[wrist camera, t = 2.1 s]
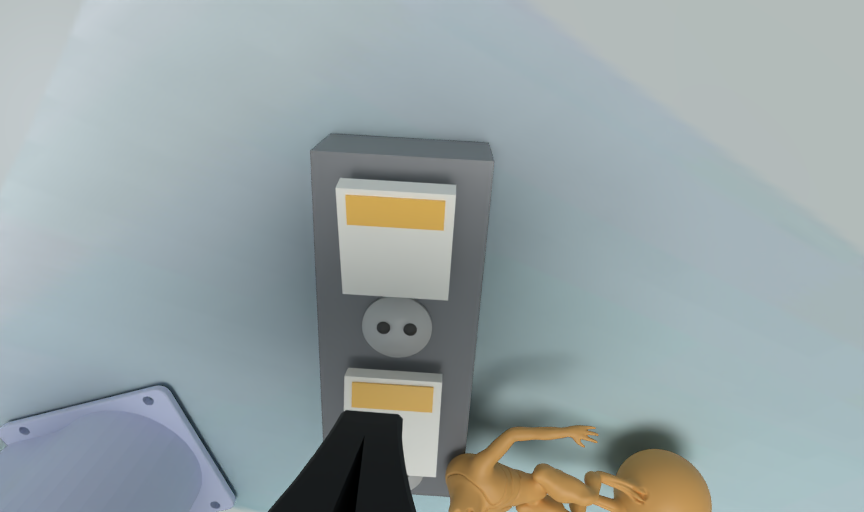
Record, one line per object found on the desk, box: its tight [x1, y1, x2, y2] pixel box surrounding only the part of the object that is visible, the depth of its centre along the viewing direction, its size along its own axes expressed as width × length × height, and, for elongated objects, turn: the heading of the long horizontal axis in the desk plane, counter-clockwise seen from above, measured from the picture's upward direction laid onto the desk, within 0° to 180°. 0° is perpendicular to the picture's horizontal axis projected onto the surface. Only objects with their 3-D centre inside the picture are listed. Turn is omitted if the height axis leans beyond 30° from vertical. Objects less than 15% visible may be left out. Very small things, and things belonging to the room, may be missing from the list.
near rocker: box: [335, 178, 456, 301], centre depth 17 cm, size 4×4×1 cm
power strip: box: [310, 134, 494, 497], centre depth 21 cm, size 15×6×3 cm, turn 177°
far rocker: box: [344, 368, 442, 477], centre depth 20 cm, size 4×4×1 cm
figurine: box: [445, 425, 712, 512], centre depth 22 cm, size 8×6×12 cm
